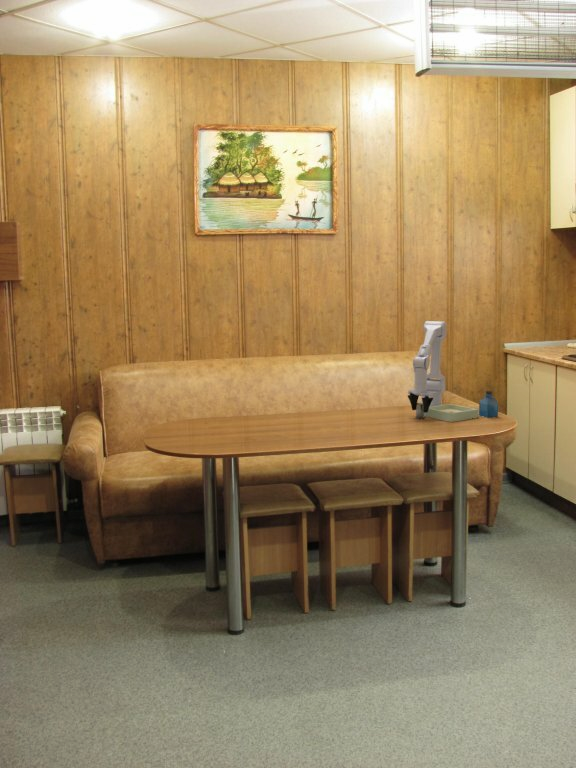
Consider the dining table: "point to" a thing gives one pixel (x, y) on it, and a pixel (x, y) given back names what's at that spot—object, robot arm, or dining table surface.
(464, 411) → the box
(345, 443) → the dining table surface
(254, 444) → the dining table surface
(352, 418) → the dining table surface
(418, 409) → the peg
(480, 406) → the perfume bottle
